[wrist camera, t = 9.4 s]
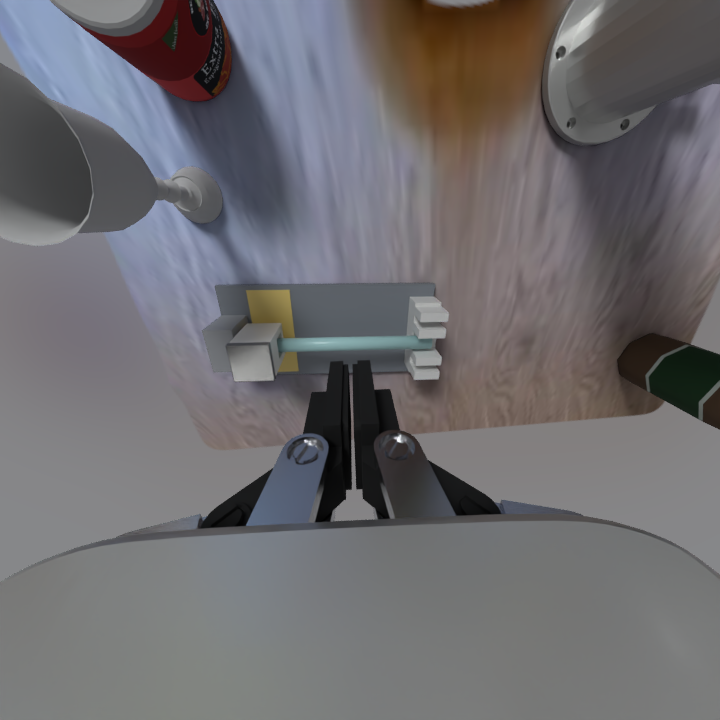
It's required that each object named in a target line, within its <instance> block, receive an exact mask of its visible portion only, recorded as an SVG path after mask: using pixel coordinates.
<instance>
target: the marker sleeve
mask: <svg viewBox="0 0 720 720" xmlns="http://www.w3.org/2000/svg"><path fill="white" fill-rule="evenodd" d="M277 338H283V331H282V323H247V324H246V325H245V326H244V327H243V328H242V329H241V330H240V331H239V333H238V334H237V335H236V336H235V337H234V338H233V339H232V340H231V341H230V342H229V343H227V344H226V345H225V346H226V350H227V354H228V359H229V363H230V367H231V371H232V375H233V379H234V382H250V381H275V379H276V375H277V372H278V370H279V368H280V365H281V363H282V361H283V358H284V356H285V354H286V353H285V352H278V345H277Z"/></svg>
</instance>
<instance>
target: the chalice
mask: <svg viewBox="0 0 720 720" xmlns="http://www.w3.org/2000/svg"><path fill="white" fill-rule="evenodd" d="M164 199H165V200H166V201H168V202H170V203H173V204H174V206H175V207H176V208H177V209H178V210H179V211H180V212H181V213H182V214H183V215H184V216H185V217H186V218H188V219H190V220H191V221H193V222H197V223H201V224H202V223H209V222H211V221H214V220H215V219H216V218H217V217H218V216H219V215H220V212H221V209H222V201H223V198H222V194H221V191H220V188H219V186H218V185H217V183H216V181H215V180H214V179H213V178H212V177H211V176H210V175H209V174H208V173H207V172H205V171H204V170H202V169H200V168H196V167H193V166H191V167H183V168H181V169H180V170H178V171H177V172H176V173H175V174H174V175H173V176H172V177H171V178H170V180H169V179H167V180H164V181H163V180H161V179H160V178H156V177H154V176H153V174H152V173H151V171H150V169H149V168H148V166H147V165H146V163H145V161H144V160H143V158H142V157H141V156H140V155H139V154H138V153H137V152H136V151H135V150H134V149H133V148H132V147H131V146H130V145H129V144H128V143H127V142H126V141H125V140H124V139H123V138H122V137H121V136H120V135H119V134H118V133H117V132H116V131H115V130H114V129H113V128H111V127H109V126H108V125H106V124H104V123H103V122H101V121H99V120H97V119H96V118H94V117H92V116H89V115H87V114H84V113H82V112H80V111H77V110H75V109H73V108H70V107H68V106H66V105H63V104H61V103H59V102H56V101H54V100H51V99H49V98H47V97H46V96H45V95H44V94H43V93H42V92H41V91H40V90H39V89H38V88H37V87H36V86H35V85H34V84H32V83H31V82H30V81H29V80H28V79H27V78H25V77H24V76H22V75H20V74H18V73H17V72H15V71H13V70H12V69H10V68H8V67H6V66H4V65H3V64H1V63H0V237H2V238H4V239H6V240H9V241H11V242H16V243H22V244H28V245H33V246H42V245H49V244H57V243H61V242H62V241H64V240H66V239H68V238H70V237H71V236H73V235H75V234H77V233H91V232H111V231H119V230H124V229H126V228H127V227H129V226H131V225H133V224H135V223H136V222H138V221H139V220H140V219H142V218H143V217H144V216H146V214H147V213H148V212H149V211H150V209H151V208H152V206H153V205H154V203H155V201H156V200H164Z"/></svg>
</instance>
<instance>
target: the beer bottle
mask: <svg viewBox="0 0 720 720" xmlns="http://www.w3.org/2000/svg"><path fill="white" fill-rule="evenodd" d="M617 361H618V367H619V373H620V375H621V376H622V377H624V378H625V379H627V380H629V381H630V382H632V383H634V384H636V385H637V386H639V387H641V388H643V389H645V390H646V391H648V392H650V393H652V394H654V395H656V396H657V397H659V398H661V399H663V400H665V401H666V402H668V403H670V404H672V405H674V406H676V407H677V408H679V409H681V410H683V411H685V412H687V413H689V414H690V415H692V416H694V417H696V418H697V419H699V420H701V421H703V422H705V423H707V424H709V425H711V426H713V427H715V428H718V429H720V355H719V354H716V353H713V352H711V351H707V350H705V349H702V348H699V347H696V346H694V345H691V344H688V343H685V342H682V341H679V340H675V339H672V338H668V337H664V336H660V335H656V334H648V335H646V336H644V337H642V338H640V339H638V340H636V341H634V342H631V343H630V344H629V345H628V346H627V348H626V349H625V350H624V352H623V353H622V354H621V356H620V357H619V358H618V360H617Z"/></svg>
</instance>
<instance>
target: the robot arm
mask: <svg viewBox="0 0 720 720" xmlns="http://www.w3.org/2000/svg"><path fill="white" fill-rule="evenodd" d="M711 84H720V0H571V1H570V3H569V4H568V5H567V7H566V8H565V10H564V12H563V14H562V16H561V18H560V20H559V22H558V23H557V25H556V28H555V30H554V33H553V35H552V38H551V41H550V43H549V46H548V50H547V54H546V58H545V62H544V69H543V77H542V97H543V103H544V108H545V112H546V115H547V117H548V120H549V122H550V124H551V126H552V127H553V129H554V130H555V132H556V133H557V134H558V135H559V136H561V137H562V138H563V139H564V140H566V141H568V142H570V143H572V144H575V145H581V146H590V145H598V144H601V143H604V142H608V141H611V140H613V139H615V138H618V137H620V136H622V135H624V134H625V133H627V132H628V131H630V130H631V129H633V128H634V127H635V126H637V125H638V124H639V123H640V122H641V121H642V120H644V119H645V118H646V117H647V116H648V115H649V114H650V112H651V111H652V110H653V109H654V108H655V107H656V106H657V105H658V104H660V103H663V102H665V101H668V100H671V99H673V98H676V97H679V96H682V95H684V94H687V93H690V92H692V91H695V90H698V89H700V88H703V87H706V86H708V85H711ZM352 369H353V413H354V442H355V464H356V465H355V466H356V488H357V489H362V490H363V499H364V500H365V501H367V502H368V503H369V504H370V505H371V506H373V507H374V508H373V509H374V516H375V520H355V521H334V519H335V508H336V507H337V506H338V505H339V504H340V503H341V502H342V501H343V500H346V490H351V489H352V481H351V480H352V472H351V408H350V387H349V367H348V364H344V363H343V361H330V368H329V376H328V383H327V391H326V392H312V394H311V398H310V403H309V408H308V413H307V417H306V422H305V427H304V432H303V434H302V435H298V436H296V437H294V438H292V439H291V440H290V441H288V442H287V443H286V444H285V446H284V447H283V449H282V451H281V453H280V455H279V457H278V459H277V462H276V464H275V466H274V468H272V469H271V470H270V471H268V472H267V473H265V474H264V475H263V476H261V477H259V478H258V479H257V480H255V481H254V482H252V483H251V484H249V485H248V486H246V487H245V488H244V489H242V490H241V491H239V492H238V493H237V494H235V495H233V496H232V497H231V498H229V499H228V500H226V501H225V502H223V503H222V504H221V505H219V506H218V507H216V508H215V509H214V510H213V511H212V512H211V513H210V514H209V515H208V516H206V517H201V514H198V515H195V516H190V517H186V518H182V519H178V520H175V521H171V522H167V523H163V524H159V525H155V526H151V527H147V528H143V529H139V530H136V531H132V532H128V533H125V534H123V535H120V536H118V537H116V538H112V539H107V540H102V541H99V542H95V543H91V544H88V545H84V546H80V547H77V548H74V549H71V550H69V551H66V552H63V553H61V554H58V555H55V556H52V557H50V558H47V559H44V560H42V561H40V562H37V563H35V564H33V565H31V566H29V567H27V568H25V569H23V570H21V571H19V572H17V573H15V574H13V575H11V576H9V577H8V578H6V579H5V580H3V581H1V582H0V720H720V575H719V574H718V573H717V572H716V571H714V570H713V569H712V568H711V567H709V566H708V565H706V564H705V563H704V562H703V561H701V560H700V559H699V558H697V557H696V556H694V555H693V554H691V553H690V552H689V551H687V550H685V549H684V548H682V547H680V546H678V545H676V544H674V543H673V542H671V541H668V540H666V539H664V538H661V537H659V536H657V535H654V534H652V533H649V532H646V531H644V530H640V529H637V528H634V527H630V526H627V525H623V524H620V523H617V522H613V521H609V520H603V519H598V518H592V517H587V516H583V515H581V514H578V513H575V512H572V511H567V510H561V509H555V508H549V507H543V506H537V505H531V504H525V503H518V502H513V501H506V500H501V503H495V502H493V501H492V499H490V498H489V497H488V496H486V495H485V494H483V493H482V492H480V491H479V490H477V489H475V488H474V487H472V486H470V485H469V484H467V483H465V482H464V481H462V480H460V479H459V478H457V477H455V476H454V475H452V474H450V473H449V472H447V471H445V470H444V469H442V468H440V467H439V466H437V465H435V464H434V463H432V462H430V461H429V460H427V458H426V456H425V454H424V452H423V450H422V448H421V446H420V444H419V442H418V441H417V439H416V438H415V437H414V436H412V435H411V434H409V433H407V432H405V431H400V429H399V425H398V420H397V416H396V412H395V408H394V403H393V399H392V395H391V391H390V389H382V390H374V384H373V377H372V370H371V363H370V360H357V364H352Z"/></svg>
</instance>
